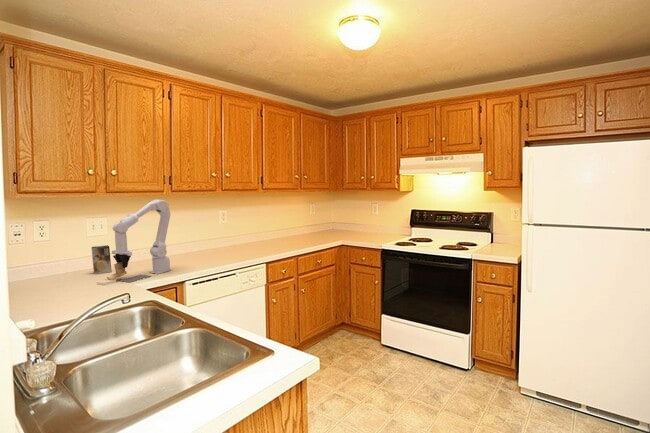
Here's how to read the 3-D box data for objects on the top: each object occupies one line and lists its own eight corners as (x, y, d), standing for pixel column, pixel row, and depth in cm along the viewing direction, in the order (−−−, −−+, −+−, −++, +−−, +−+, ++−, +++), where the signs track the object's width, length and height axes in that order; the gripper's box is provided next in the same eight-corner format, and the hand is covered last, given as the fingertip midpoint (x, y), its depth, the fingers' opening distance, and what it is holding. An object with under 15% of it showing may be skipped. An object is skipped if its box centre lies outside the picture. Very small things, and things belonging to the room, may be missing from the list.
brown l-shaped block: (121, 272, 211) (119, 261, 209) (127, 273, 209) (124, 262, 207) (107, 278, 203) (104, 267, 201) (112, 279, 201) (109, 268, 200)
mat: (140, 275, 217) (140, 274, 217) (151, 276, 213) (151, 276, 213) (118, 281, 205) (118, 280, 205) (129, 282, 201) (129, 282, 201)
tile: (109, 278, 205) (96, 281, 199) (116, 279, 202) (103, 283, 196) (109, 281, 205) (96, 285, 199) (116, 282, 202) (103, 286, 196)
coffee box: (110, 270, 231) (108, 244, 229) (111, 272, 226) (109, 246, 224) (93, 272, 225) (91, 246, 224) (94, 274, 220) (92, 248, 219)
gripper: (106, 244, 207) (107, 267, 208) (123, 245, 201) (125, 270, 202) (117, 242, 213) (119, 265, 215) (134, 243, 207) (136, 267, 209)
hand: (122, 267), depth 209 cm, fingers closed on brown l-shaped block, 3 cm apart
